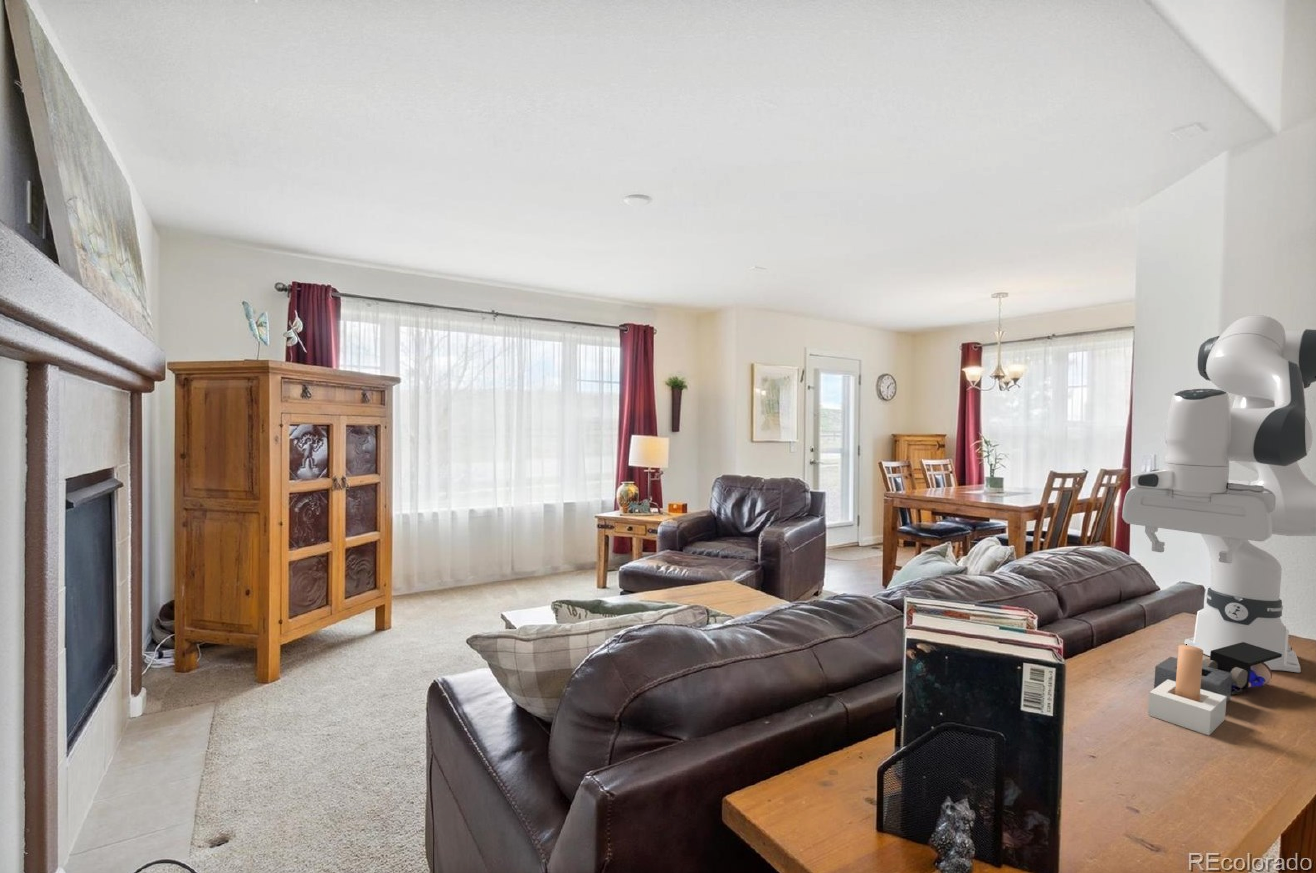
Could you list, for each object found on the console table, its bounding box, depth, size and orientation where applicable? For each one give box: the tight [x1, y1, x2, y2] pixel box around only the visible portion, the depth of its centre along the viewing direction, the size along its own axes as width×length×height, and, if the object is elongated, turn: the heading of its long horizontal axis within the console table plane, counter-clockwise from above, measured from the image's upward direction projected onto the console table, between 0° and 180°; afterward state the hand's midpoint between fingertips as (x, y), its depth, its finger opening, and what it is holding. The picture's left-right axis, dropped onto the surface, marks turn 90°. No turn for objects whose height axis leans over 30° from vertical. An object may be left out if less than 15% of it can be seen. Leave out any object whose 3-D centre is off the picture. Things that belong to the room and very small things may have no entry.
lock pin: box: [1175, 644, 1204, 702], centre depth 106 cm, size 3×3×12 cm
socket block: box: [1147, 680, 1227, 736], centre depth 106 cm, size 10×8×4 cm
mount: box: [1153, 656, 1232, 705], centre depth 114 cm, size 9×9×5 cm
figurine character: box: [1202, 642, 1282, 695], centre depth 119 cm, size 7×8×15 cm
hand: (1190, 556), depth 111 cm, fingers open, 8 cm apart
